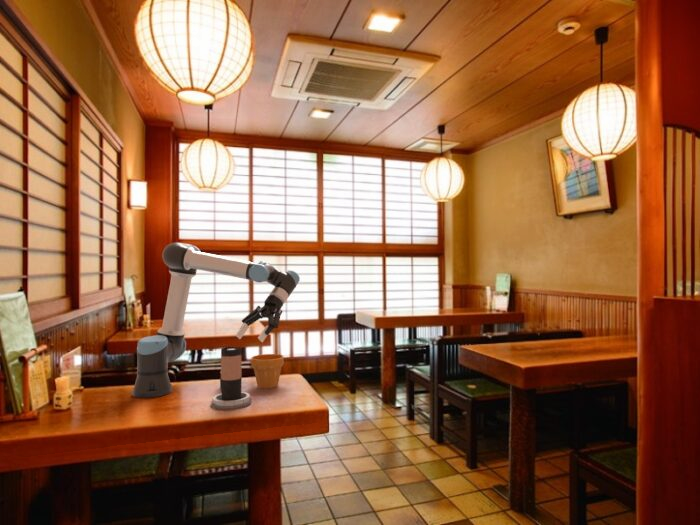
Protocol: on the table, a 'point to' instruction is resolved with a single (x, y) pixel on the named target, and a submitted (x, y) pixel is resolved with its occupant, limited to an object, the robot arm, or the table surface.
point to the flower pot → (267, 369)
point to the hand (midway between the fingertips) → (248, 338)
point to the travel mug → (231, 373)
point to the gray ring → (230, 402)
